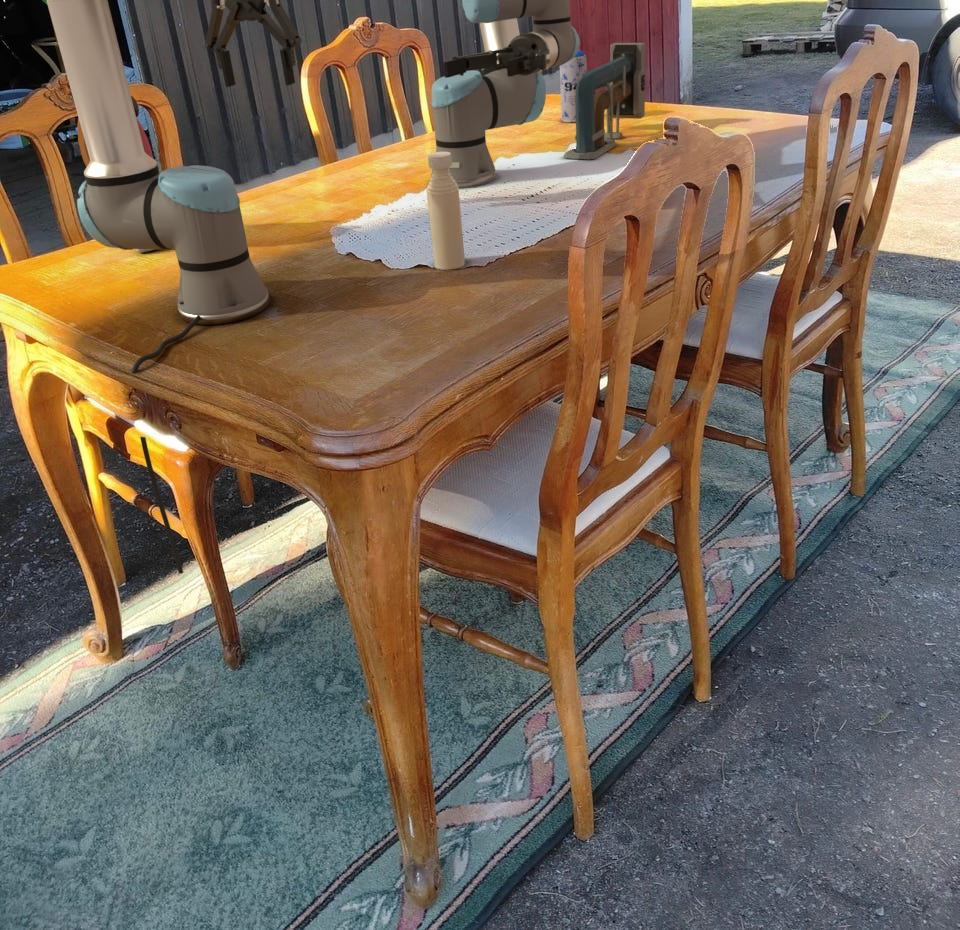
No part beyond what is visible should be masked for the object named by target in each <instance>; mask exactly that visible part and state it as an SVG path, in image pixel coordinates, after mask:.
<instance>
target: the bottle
mask: <svg viewBox="0 0 960 930" xmlns="http://www.w3.org/2000/svg"><path fill="white" fill-rule="evenodd" d="M426 188H427V189H426V197H427V209H428V216H429V226H430V227H429V228H430V237H431V247H432V257H433V266H434V268H436V269H438V270H442V271H443V270H445V271H448V270H456V269H459V268H463V267H464V266H465V264H466V259H465V258H466V257H465V247H464V235H463V234H464V233H463V223H462V214H461V213H462V211H461V200H460V188H458V186H457V183H456V182H455V180H454V179H453V176H451V173H449V168H445V169H433V174H432V178H431V177H430V179H429V182H428V185H427V186H426Z"/></svg>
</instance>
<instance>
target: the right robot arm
mask: <svg viewBox="0 0 960 930" xmlns="http://www.w3.org/2000/svg"><path fill="white" fill-rule="evenodd" d="M461 3H462V9H463V11H464V15H465V17H466V20H467V21H469V22H470V23H473V24H479V27H480V33H481V38H482V39H481V40H482V42H483V49H484V52H483V51H482V52H477V53H471V54H466V55H458V56H452V57H451V60H447V61H443V72H444V76H441V77H440V78H438V79H436V80H435V81H434V82H433V83H432V85H431V90H430V91H431V102H430V104H431V108H432V116H433V128H434V137H435V152H449V153H451V158H452V166H451V167H449V173H451V176H453V179H454V180H455V182H456V183H457V186H458V188H459V189H461V188H462V189H463V188H473V187H477V186H482V185H486V184H489V183H491V182H493V181H494V180H495V179H496V178H497V171H496V166H495V164H494V161H493V158H492V156H491V153H490V151H489V148H488V146H487V140H486V139H487V138H486V131H488V130H494V129H500V128H506V127H511V126H512V127H513V126H522V125H524V124H528V123H533V122H535V121H537V120H538V119H539V117H540V116H541V115H542V113H543V110H544V107H545V104H546V97H547V87H546V86H547V85H546V81H545V80H546V79H545V76H544V75H543V71H545V70H548V69H551V68H554V67H558V66H560V65H563V64H565V63H567V62H569V61H570V60H572V59H573V58H574V57H575V56H576V54H577V53H578V50H580V46H581V38H580V37H579V33H578V32H577V30H576V28H574V27H573V26H572V20H571V0H461ZM530 17H533V25H534V31H530V32H527V33H523V34H521V33H520V29H519V22H518V19H520V18H522V19H523V18H530ZM479 70H481V72H480V71H479ZM430 173H431V174H430V179H431V178H432V174H433V169H431V172H430Z"/></svg>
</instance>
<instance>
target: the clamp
mask: <svg viewBox="0 0 960 930" xmlns="http://www.w3.org/2000/svg"><path fill="white" fill-rule="evenodd" d="M609 47H610V50H609V51H610V61H607V62H606V63H604V64H602V65H599V66H597V67H595V68H593V69H590V70H588V71H587V72H586V73H585V74H584V75H583V76H582V78H581V79H580V80H579V81H578V83H577V86H576V93H575V105H576V122H575V135H574V139H575V142H576V143H575V145H576V146H575V147H576V149H572V148H571V149H572V150H571V149H569V150H566V151H565V152H564V154H563V156H562V157H563V158H565V159H573V160H596V159H597V158H599V157H600V156H602V155H604V154H605V153H607V152H608V151H610V150H611V149H613V148H615V147H616V146H617V145H618V144H617V143H616V140H615V139H621V138H623V137H624V135H623V133H622V132H620V119H633V120H636V119H639V120H640V119H642V118H644V117H645V115H646V114H645V110H646V106H645V105H646V42H614V43H612V44H610V46H609ZM605 87H606V88H605ZM600 88H604V89H602V90H599V91H598V92H596V90H598V89H600ZM605 110H606V129H605ZM614 119H616V122H615V123H616V124H615V132H614V126H613V125H614Z"/></svg>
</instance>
